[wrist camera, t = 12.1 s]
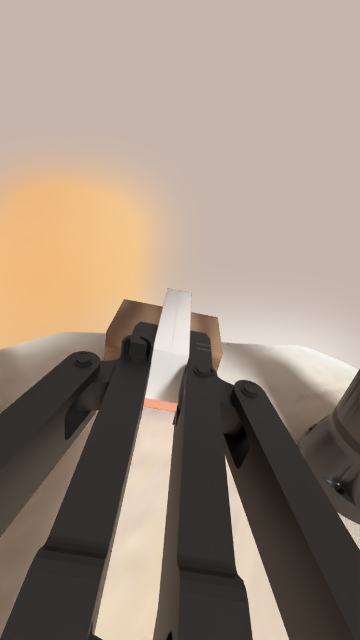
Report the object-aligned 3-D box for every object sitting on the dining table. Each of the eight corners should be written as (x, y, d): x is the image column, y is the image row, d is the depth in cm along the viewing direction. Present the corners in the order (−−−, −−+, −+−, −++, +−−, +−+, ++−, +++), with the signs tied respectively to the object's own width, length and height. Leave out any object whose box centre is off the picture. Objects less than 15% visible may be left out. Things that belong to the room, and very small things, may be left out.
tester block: (203, 366, 60) (217, 317, 54) (204, 409, 49) (222, 353, 44) (118, 350, 59) (124, 299, 53) (101, 390, 49) (106, 331, 43)
